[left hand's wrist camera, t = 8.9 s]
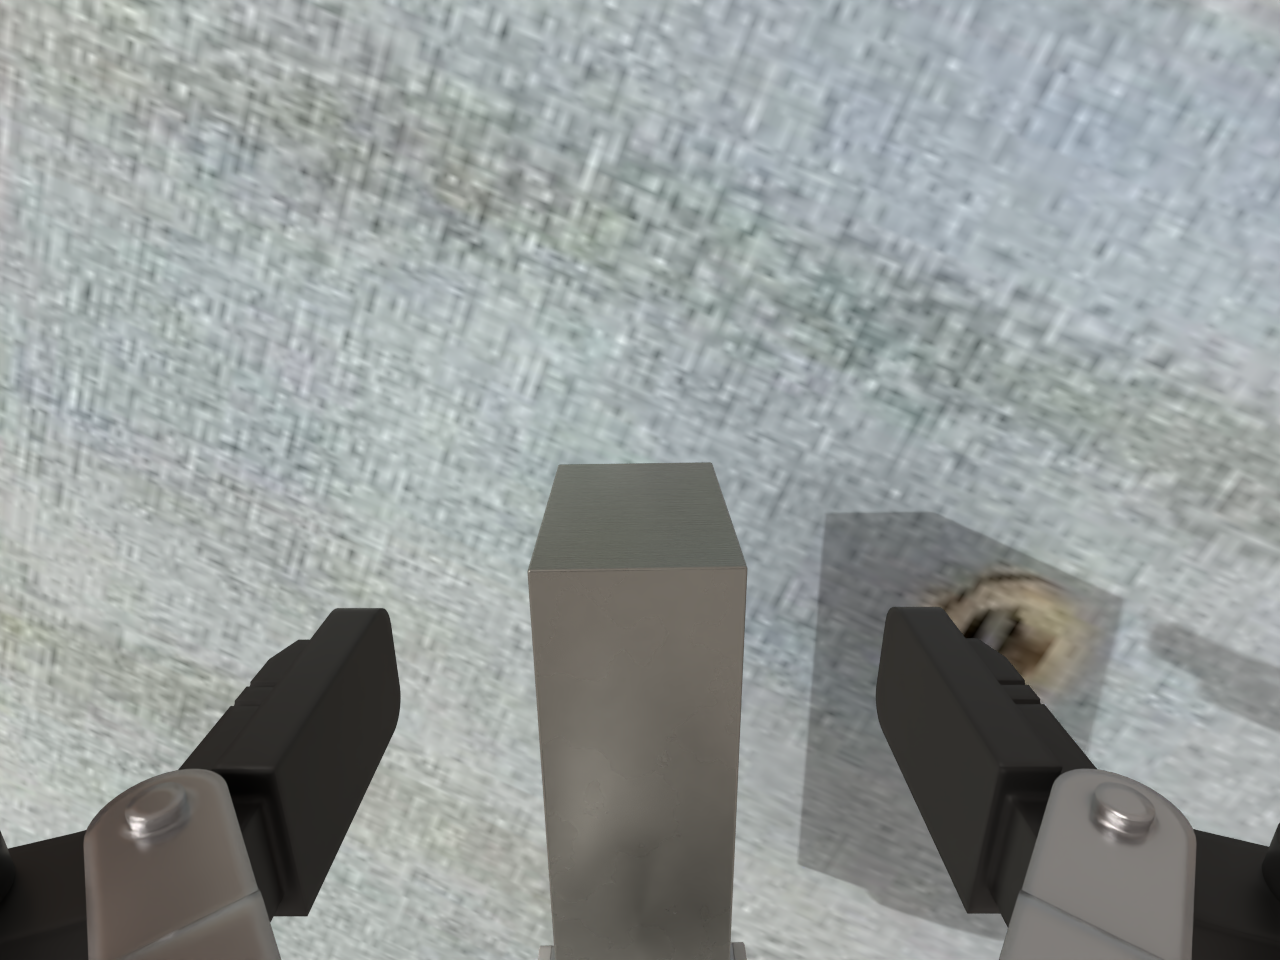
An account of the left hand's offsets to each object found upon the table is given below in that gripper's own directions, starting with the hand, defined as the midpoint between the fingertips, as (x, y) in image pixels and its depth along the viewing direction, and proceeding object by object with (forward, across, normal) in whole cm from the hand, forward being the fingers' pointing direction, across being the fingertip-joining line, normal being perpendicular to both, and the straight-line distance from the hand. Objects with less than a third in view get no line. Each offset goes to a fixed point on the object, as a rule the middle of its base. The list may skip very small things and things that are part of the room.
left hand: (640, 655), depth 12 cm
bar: (+16, 0, -15) cm, 22 cm away
